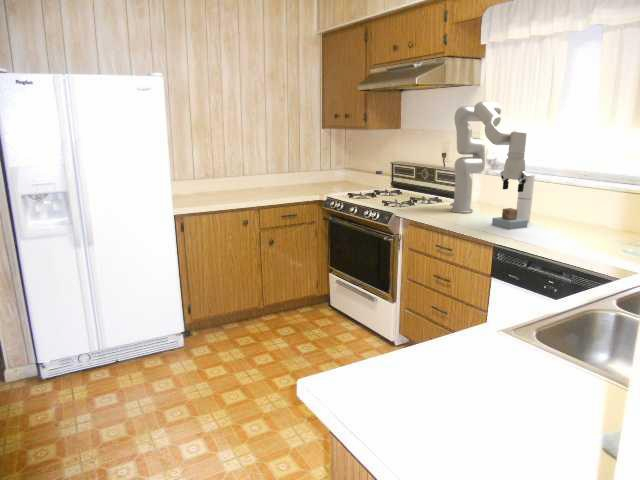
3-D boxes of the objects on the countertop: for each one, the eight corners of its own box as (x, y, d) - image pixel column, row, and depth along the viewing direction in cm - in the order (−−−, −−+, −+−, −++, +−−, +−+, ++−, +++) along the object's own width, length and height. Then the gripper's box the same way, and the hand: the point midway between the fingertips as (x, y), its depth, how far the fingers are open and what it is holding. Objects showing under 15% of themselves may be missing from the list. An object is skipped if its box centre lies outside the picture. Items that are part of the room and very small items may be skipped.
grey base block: (491, 225, 258) (492, 217, 257) (508, 223, 263) (509, 215, 262) (509, 230, 247) (510, 222, 246) (527, 227, 253) (527, 220, 252)
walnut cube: (501, 218, 256) (502, 208, 254) (508, 217, 258) (509, 208, 257) (509, 220, 251) (510, 210, 250) (516, 219, 253) (517, 209, 252)
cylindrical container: (512, 220, 268) (517, 174, 262) (522, 219, 270) (527, 173, 264) (522, 223, 261) (527, 175, 255) (532, 222, 264) (537, 175, 258)
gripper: (497, 155, 252) (494, 188, 256) (524, 157, 237) (520, 193, 241) (508, 154, 256) (505, 187, 260) (535, 157, 241) (531, 192, 245)
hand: (512, 190), depth 251 cm, fingers open, 9 cm apart
